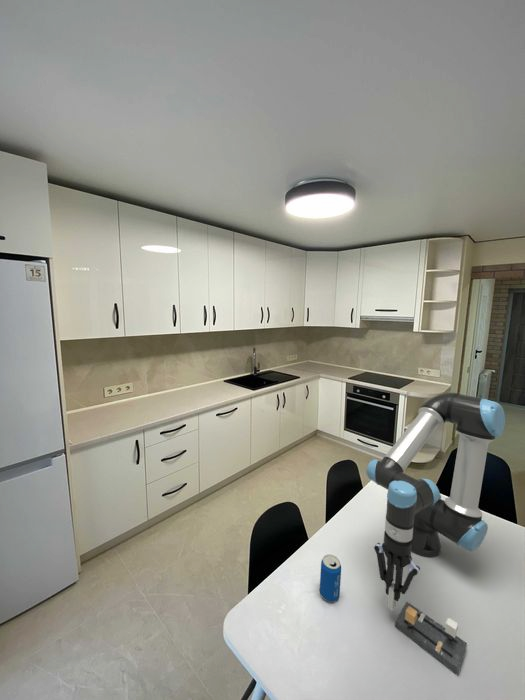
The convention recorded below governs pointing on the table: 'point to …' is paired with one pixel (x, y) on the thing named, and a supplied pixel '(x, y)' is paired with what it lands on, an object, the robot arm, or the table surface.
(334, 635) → the table surface
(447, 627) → the fader
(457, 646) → the console
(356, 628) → the table surface
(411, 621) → the fader
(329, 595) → the beverage can
